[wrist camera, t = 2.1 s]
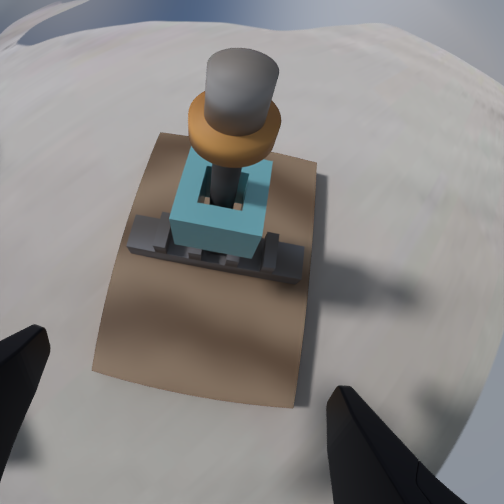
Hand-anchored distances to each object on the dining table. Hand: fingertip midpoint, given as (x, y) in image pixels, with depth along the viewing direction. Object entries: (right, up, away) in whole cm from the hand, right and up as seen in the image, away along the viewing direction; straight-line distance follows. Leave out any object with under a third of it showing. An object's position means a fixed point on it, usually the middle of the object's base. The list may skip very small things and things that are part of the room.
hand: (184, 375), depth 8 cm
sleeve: (0, +5, +8) cm, 10 cm away
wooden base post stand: (-1, +3, +15) cm, 16 cm away
